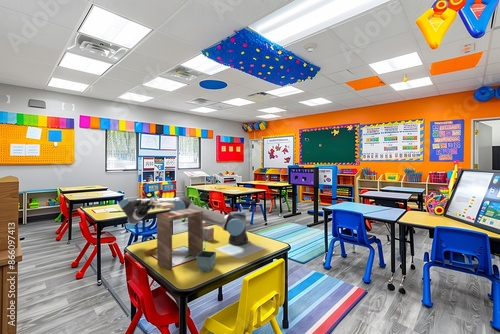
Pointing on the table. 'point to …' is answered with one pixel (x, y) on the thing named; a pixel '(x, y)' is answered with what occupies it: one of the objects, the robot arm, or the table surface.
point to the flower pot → (206, 260)
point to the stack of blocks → (207, 232)
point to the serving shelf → (166, 234)
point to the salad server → (162, 204)
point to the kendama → (150, 251)
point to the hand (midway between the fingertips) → (154, 198)
